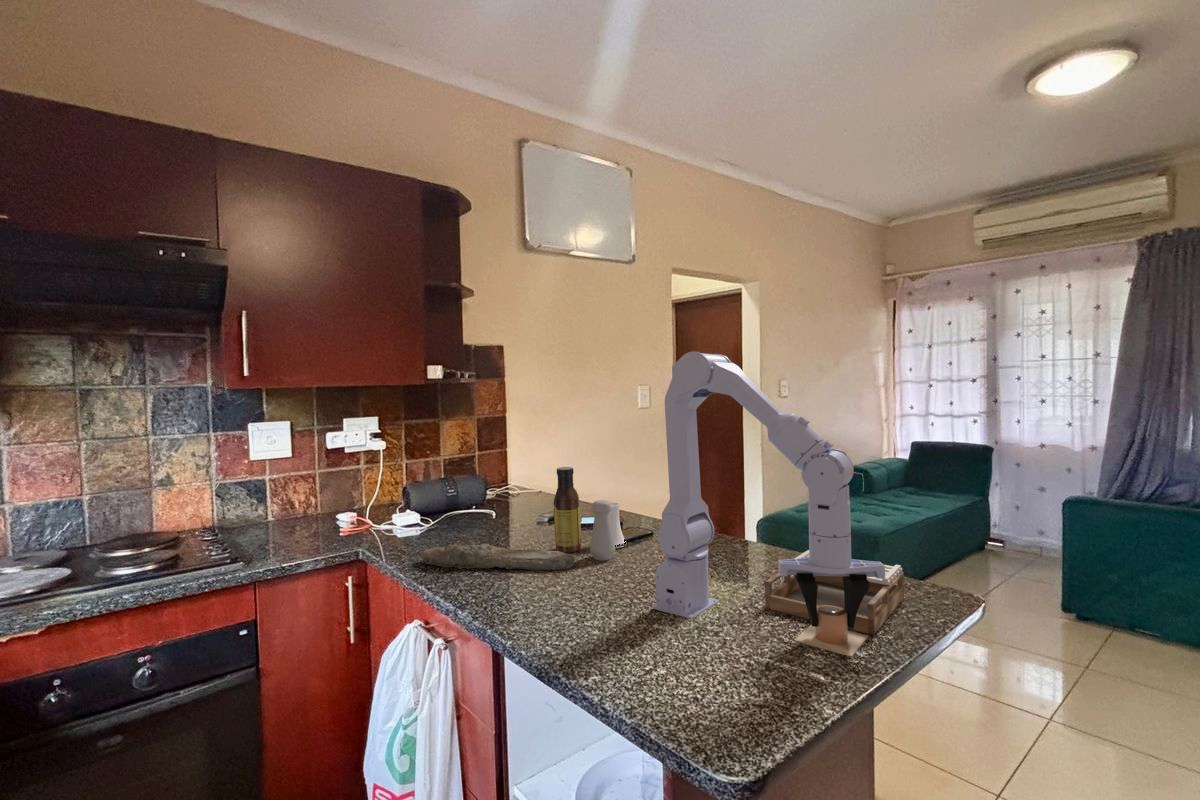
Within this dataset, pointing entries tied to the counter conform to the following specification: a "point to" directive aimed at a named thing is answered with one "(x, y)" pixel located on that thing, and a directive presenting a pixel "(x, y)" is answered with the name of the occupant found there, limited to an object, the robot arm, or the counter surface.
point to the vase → (616, 525)
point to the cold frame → (837, 599)
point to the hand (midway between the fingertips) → (831, 624)
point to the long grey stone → (496, 558)
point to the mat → (846, 649)
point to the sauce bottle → (566, 513)
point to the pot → (832, 625)
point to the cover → (890, 575)
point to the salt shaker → (602, 532)
